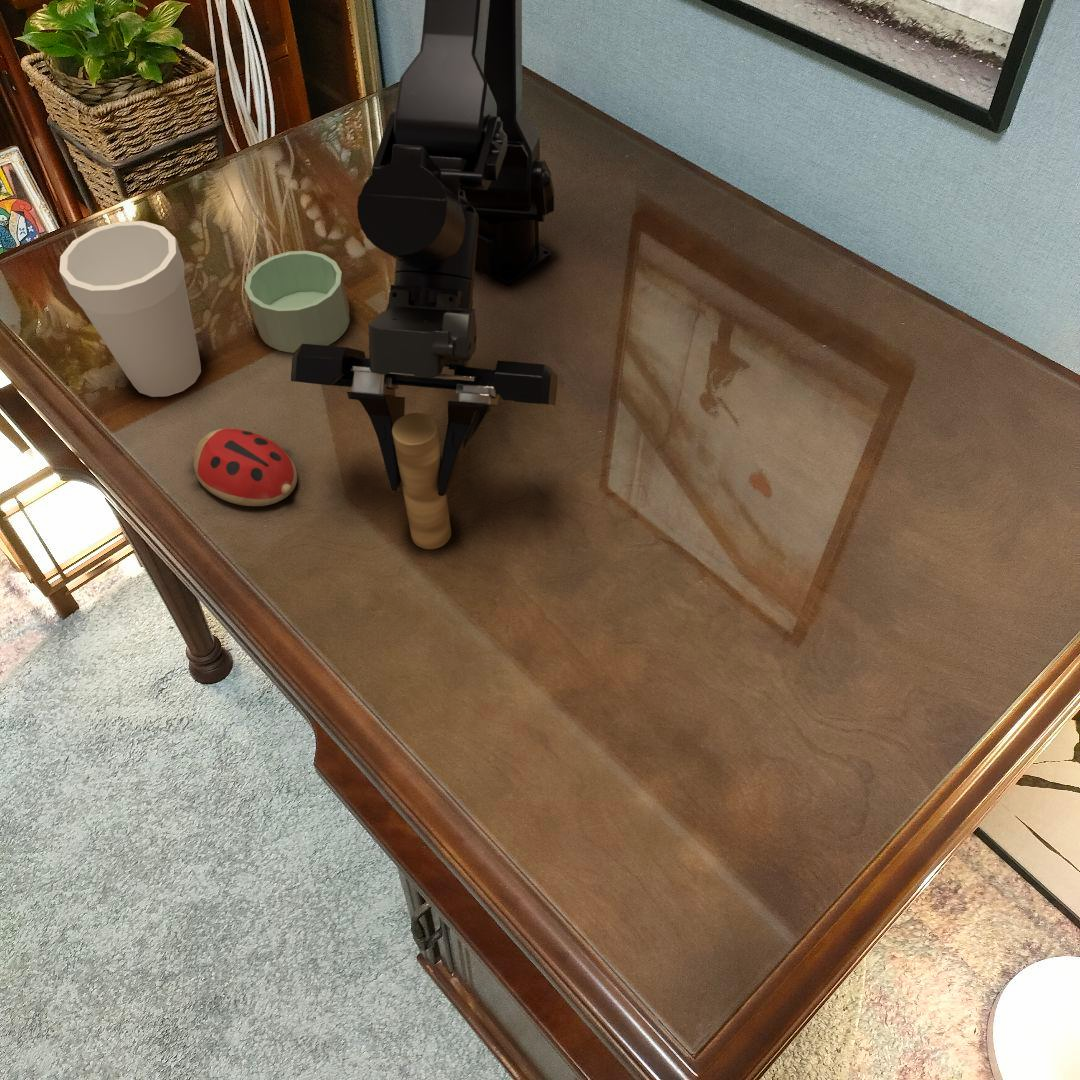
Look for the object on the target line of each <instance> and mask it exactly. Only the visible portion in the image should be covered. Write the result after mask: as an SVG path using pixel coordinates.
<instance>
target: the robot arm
mask: <svg viewBox="0 0 1080 1080" xmlns="http://www.w3.org/2000/svg"><path fill="white" fill-rule="evenodd" d="M423 11H424V12H423V21H422V22H423V23H422V32H421V41H420V49H419V52H418V53H417V54H416V56H415V57H414V59H413V60H412V61H411V62H410V64H409V65H408V67H407V68H406V69H405V70H404V72H402V75H401V76H400V79H399V83H398V90H397V96H396V97H397V98H396V104H395V105H396V106H395V109H392V110H391V111H390V114H389V115H388V119H387V122H386V125H385V128H384V131H383V134H382V136H381V140H380V143H379V145H378V149H377V152H376V154H375V158H374V160H373V163H372V166H371V174H370V176H369V178H368V179H367V180H366V181H365V183H364V184H363V187H362V189H361V192H360V193H359V195H358V198H357V203H356V204H357V205H356V211H357V218H358V222H359V225H360V228H361V230H362V232H363V234H364V235H365V237H366V238H367V239H368V241H369V242H370V243H372V245H373V246H375V248H377V249H379V250H381V251H382V252H384V253H386V254H387V255H389V256H391V257H392V258H394V259H395V264H394V265H395V267H394V277H393V278H394V280H393V284H390V291H389V293H388V304H387V306H386V309H385V310H384V311H381V312H380V313H379V314H378V315H377V316H376V317H374V318H373V319H372V320H371V321H370V322H369V323H368V351H369V352H368V356H369V357H368V358H367V357H366V352H365V351H363V350H360V349H356V348H351V347H347V346H335V345H328V346H325V345H313V344H301V345H300V347H299V348H298V349H297V350H296V351H295V353H293V355H292V358H291V370H290V371H291V372H290V382H296V383H305V384H313V385H324V386H325V385H326V386H334V387H344V388H345V387H347V388H351V389H350V391H347V392H346V394H347V398H348V400H356V401H359V403H360V404H361V405H362V407H363V409H364V410H365V412H366V414H367V416H368V417H369V420H370V422H371V424H372V428H373V429H374V431H375V432H374V433H375V435H376V438H377V441H378V445H379V448H380V452H381V455H382V459H383V463H384V468H385V470H386V471H385V472H386V475H387V479H388V482H389V486H390V490H391V491H392V492H399V491H401V487H402V483H401V478H400V472H399V467H398V462H397V456H396V451H395V445H394V440H393V435H392V428H393V425H394V423H395V422H396V421H397V420H398V419H399V418H401V417H402V416H404V415H406V414H405V413H406V412H405V411H406V397H405V396H397V395H396V390H398V388H399V386H406V387H407V386H408V387H419V388H430V389H440V390H450V391H451V390H452V391H455V394H456V395H457V401H455V400H454V401H453V400H448V401H447V424H446V425H447V426H446V432H445V437H444V443H443V449H442V453H441V465H440V471H439V479H438V495H439V496H444V495H446V496H447V493H448V491H449V488H450V487H451V484H452V482H453V479H454V477H455V475H456V473H457V471H458V468H459V466H460V464H461V461H462V459H463V457H464V455H465V453H466V451H467V449H468V446H469V445H470V442H471V440H472V439H473V437H474V435H476V432H477V431H478V429H479V427H480V426H481V424H482V423H483V420H484V419H485V417H486V415H487V414H488V413H500V412H501V405H498V404H499V399H500V398H501V399H502V400H503V401H507V402H508V401H510V402H515V403H523V404H524V403H525V404H535V405H548V406H556V404H557V403H556V402H557V393H558V392H557V391H558V374H557V373H556V371H554V369H553V368H552V367H551V366H549V365H547V364H545V363H534V362H523V361H511V360H500V359H497V362H496V365H495V368H484V367H473V366H469V361H470V360H471V359H472V358H473V356H474V355H475V353H476V350H477V349H476V348H477V320H476V318H477V317H476V310H475V308H473V305H474V298H473V297H474V285H475V273H476V269H478V270H479V271H481V272H483V273H485V274H487V275H488V276H490V277H492V278H494V279H495V280H497V281H499V282H500V283H502V284H504V285H507V286H510V285H512V284H515V282H517V281H519V280H520V279H521V278H523V277H524V276H526V275H527V274H528V273H530V272H531V271H533V270H534V269H536V268H537V267H538V266H540V265H542V264H543V263H545V262H546V261H548V260H549V259H550V258H551V256H552V255H551V250H549V249H547V248H545V247H543V246H541V245H540V230H539V229H540V225H539V222H541V223H544V221H545V217H546V215H547V216H548V215H549V214H550V213H553V212H554V211H555V188H554V184H553V180H552V172H551V170H550V168H549V166H548V164H547V162H546V160H545V159H541V149H540V147H541V146H540V145H541V144H540V143H541V141H540V133H539V132H538V130H537V128H536V127H535V125H534V123H533V121H532V120H531V118H530V117H529V115H528V113H527V112H526V110H525V108H524V107H523V0H425V1H424V9H423ZM444 368H448V370H451V371H454V373H453V374H445V373H443V369H444Z"/></svg>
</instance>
